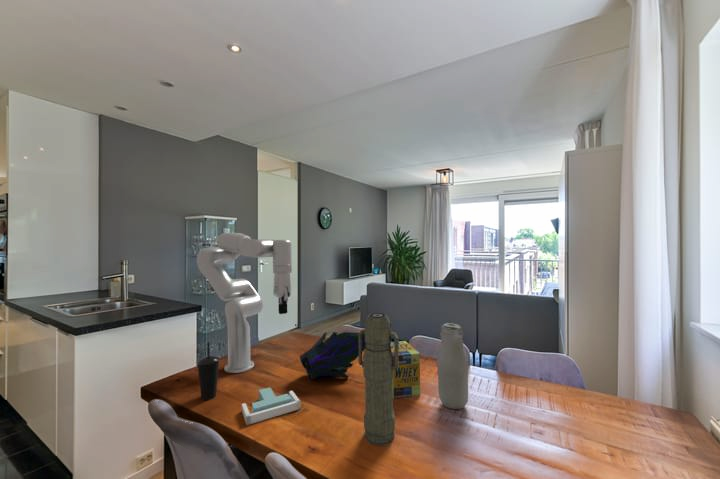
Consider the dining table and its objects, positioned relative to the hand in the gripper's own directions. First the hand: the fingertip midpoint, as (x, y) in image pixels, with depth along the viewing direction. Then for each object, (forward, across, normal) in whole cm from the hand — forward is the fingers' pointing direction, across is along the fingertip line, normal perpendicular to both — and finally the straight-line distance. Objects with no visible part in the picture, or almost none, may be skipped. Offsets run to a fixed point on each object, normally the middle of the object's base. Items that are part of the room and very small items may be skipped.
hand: (282, 313), depth 127 cm
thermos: (+27, +52, +13) cm, 60 cm away
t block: (+27, +18, -11) cm, 34 cm away
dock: (+27, +22, -10) cm, 36 cm away
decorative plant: (+27, +8, +20) cm, 35 cm away
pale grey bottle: (+27, +52, +43) cm, 73 cm away
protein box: (+27, +32, +36) cm, 55 cm away
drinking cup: (+27, 0, -28) cm, 39 cm away
